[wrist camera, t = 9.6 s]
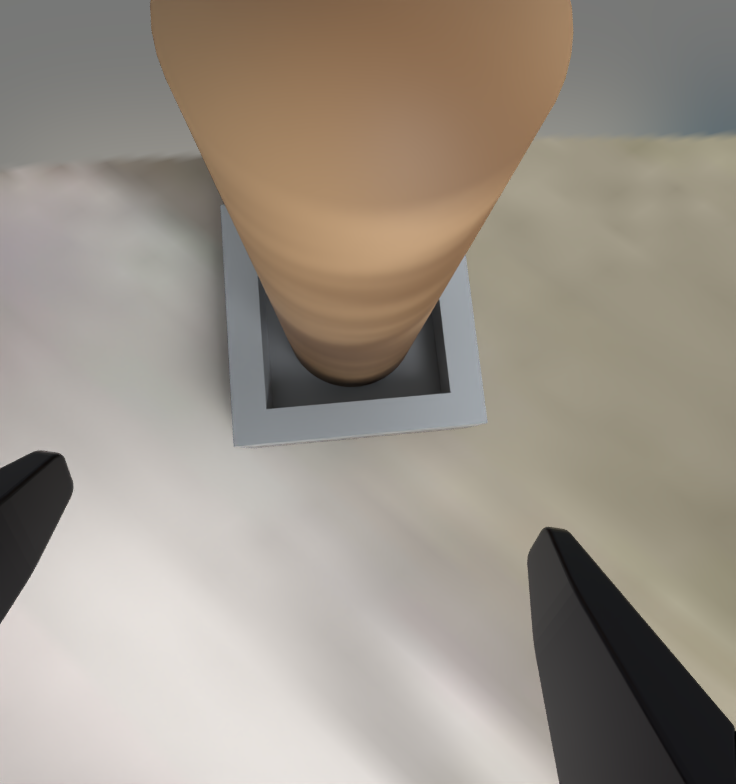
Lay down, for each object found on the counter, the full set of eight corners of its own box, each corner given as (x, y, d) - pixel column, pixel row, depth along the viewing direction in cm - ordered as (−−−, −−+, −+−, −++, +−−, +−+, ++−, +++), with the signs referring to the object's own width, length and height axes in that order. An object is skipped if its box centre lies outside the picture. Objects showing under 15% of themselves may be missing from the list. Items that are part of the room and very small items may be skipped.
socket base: (466, 427, 19) (487, 422, 16) (251, 448, 19) (233, 446, 16) (441, 228, 21) (457, 190, 18) (239, 242, 20) (220, 205, 17)
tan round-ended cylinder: (342, 413, 18) (339, 291, 5) (261, 316, 18) (62, -31, 5) (438, 333, 18) (656, 42, 6) (358, 241, 19) (389, -228, 6)
